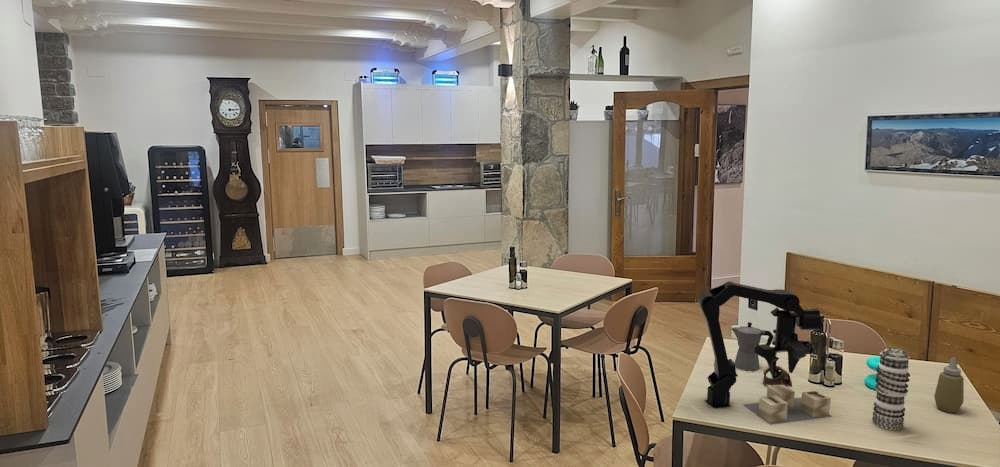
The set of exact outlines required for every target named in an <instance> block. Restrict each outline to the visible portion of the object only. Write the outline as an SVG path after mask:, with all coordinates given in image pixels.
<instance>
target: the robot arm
mask: <svg viewBox="0 0 1000 467" xmlns="http://www.w3.org/2000/svg"><path fill="white" fill-rule="evenodd" d="M734 297H738V298H744V299H748V300H753V301H758V302H762V303H766V304H767V303H768V304H770V305H773V306H775V308H774V309H773V310H771V311H770V314H771V315H772V316H773V317H776V323H775V324H776V326H775V329H773V334H775V339H774V341H773V340H772V342H771V344H772V345H773V346H771V345H770V346H768V345H766V343H764V344H763V343H761V344H759V345H756V346H755V350H754V353H756V354H758V357H759V356H760V357H762V358H763V359H765V361H766V363H767V365H768V366H767V367H768V368H770V371H771V373H772V375H775V372H776V366H777V361H778V360H779V359H780V357H778V356H777V354H778V353H787V360H788V362H787V364H788V373H789V374H793V372H794V371H795V368H796V366H797V364H798V362H800V360H801V359H804V358H805V357H807V355H812V354H814V347H813V345H812V343H811V341H810V340H799V335H798V333H796V327H799V330H803V331H804V330H805V331H820V330H821V329H822V326H823V321H822V316H821V311H820V310H819V309H818V308H812V309H804V308H802V306H801V305H800V304H801V303H800V301H801V300H800V298H799V297H798V296H797V295H796V294H795V293H794V292H792V291H791V290H789V289H782V288H781V289H765V288H762V287H761V288H760V287H756V286H751V285H747V284H741V283H738V282H737V283H736V282H734V281H732V280H731V281H727V282H724V283H723V284H721V285H719V286H715V287H713V288H711V289H709V290H708V291H703V292H701V293H700V294H699V295H698V296H697V303H698V305H699V308H700V310H701V312H702V315H703V316H704V319H705V321H706V325H707V326H706V327H707V330H708V333H709V334H708V335H709V339H710V344H711V346H712V351H713V355H714V364H713V366H714V367H713V369H714V371H712V372H711V374H709V375H708V376H707V380H708V383H709V384H710V385H709V386H707V393H706V399H704V402H705V403H707V404H708V405H709V406H710V407H711V408H713V409H722V408H723V409H724V408H730V407H732V405H731V404H730V400H731V399H730V397H731V392H730V390H731V388H732V387H733V386H735V383H737V378H738V377H739V375H738V374H737V370H736V368H737V367H736V366H735V362H734V361H733V359H732V358H730V359H729V358H728V354H727V350H726V345H725V341H724V337H723V332H722V328H721V324H720V312H721V310H720V307H721V306H723V305H725V304H726V303H727V302H728V301H729V300H731V298H734ZM770 371H769V372H770ZM771 373H770V374H771ZM772 375H771V376H772Z"/></svg>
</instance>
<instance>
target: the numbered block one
mask: <svg viewBox="0 0 1000 467" xmlns="http://www.w3.org/2000/svg"><path fill="white" fill-rule="evenodd" d="M758 400H759V402H758V403H759V412H758V415H759V416H761V417H762V418H764V419H765V420H766V421H768V422H769V423H774V422H782V421H786V420H787V407H788V403H787V402H785V401H783V400H782V399H780V398H779V397H777V396H768V397H767V396H761V397H759V399H758ZM758 415H757V416H758ZM759 416H758V417H759ZM762 418H761V419H762ZM765 420H764V421H765ZM766 421H765V422H766ZM769 423H768V424H769Z"/></svg>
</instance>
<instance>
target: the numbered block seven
mask: <svg viewBox="0 0 1000 467" xmlns="http://www.w3.org/2000/svg"><path fill="white" fill-rule="evenodd" d="M801 398H802V399H801V410H802V411H804V412H806V413H807V414H809V415H810V416H812V417H820V416H827V415H829V414H830V410H831V409H830V408H831V400H832V399H831V397H830V396H828V395H826V394H824V393H823V392H821V391H819V390H811V391H810V390H809V391H802V392H801Z"/></svg>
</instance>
